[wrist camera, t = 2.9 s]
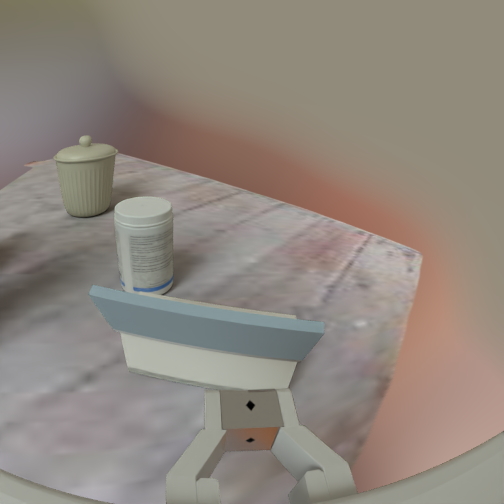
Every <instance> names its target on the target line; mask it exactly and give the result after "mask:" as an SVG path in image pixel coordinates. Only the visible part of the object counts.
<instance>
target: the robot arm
mask: <svg viewBox="0 0 504 504" xmlns="http://www.w3.org/2000/svg"><path fill="white" fill-rule="evenodd" d="M204 425H205V429H201V430H200V432H199V433H198V434H197V436H196V437H195V438H194V440H193V441H192V442H191V444H190V445H189V446H188V448H187V449H186V450H185V452H184V453H183V454H182V456H181V457H180V458H179V460H178V461H177V462H176V463H175V465H174V466H173V467H172V469H171V470H170V471H169V472H168V474H167V475H166V504H221V501H220V490H219V481H217V480H216V479H215V478H209V477H210V476H211V474H212V472H213V471H214V469H215V468H216V466H217V464H218V463H219V461H220V459H221V458H222V456H223V454H224V452H231V451H253V450H271V452H272V453H273V454H274V455H275V456H276V458H277V459H278V460H279V461H280V462H281V463H282V464H283V465H284V467H285V468H286V469H287V470H288V471H289V472H290V473H291V474H292V475H293V477H294V478H295V479H296V480H297V481H298V483H297V485H296V486H295V487H294V488H293V489H292V491H291V492H290V493H289V494H288V496H289V501H290V504H504V431H503V432H501V433H499V434H498V435H496V436H494V437H493V438H491V439H489V440H488V441H486V442H484V443H483V444H480V445H479V446H477V447H475V448H473V449H471V450H469V451H467V452H465V453H463V454H461V455H459V456H458V457H455V458H453V459H451V460H449V461H447V462H445V463H442V464H440V465H438V466H436V467H433V468H431V469H429V470H426V471H424V472H421V473H419V474H416V475H414V476H411V477H408V478H406V479H403V480H400V481H397V482H394V483H391V484H389V485H385V486H382V487H379V488H376V489H372V490H369V491H366V492H362V493H357V490H356V487H355V483H354V480H353V477H352V474H351V471H350V468H349V464H348V463H347V462H346V461H345V460H344V459H342V458H341V457H340V456H339V455H338V454H336V453H335V452H334V451H333V450H332V449H330V448H329V447H328V446H327V445H326V444H325V443H323V442H322V441H321V440H320V439H319V438H318V437H317V436H315V435H314V434H313V433H312V432H311V431H310V430H309V429H308V428H306V427H305V426H304V425H300V424H299V420H298V416H297V412H296V408H295V404H294V400H293V397H292V393H291V390H290V389H289V388H282V389H254V390H211V389H205V398H204ZM0 504H113V503H108V502H103V501H98V500H93V499H89V498H85V497H81V496H77V495H73V494H69V493H66V492H62V491H59V490H56V489H52V488H49V487H46V486H43V485H40V484H37V483H34V482H32V481H29V480H26V479H24V478H21V477H18V476H16V475H13V474H11V473H9V472H6V471H4V470H2V469H0Z"/></svg>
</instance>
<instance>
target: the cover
mask: <svg viewBox="0 0 504 504" xmlns="http://www.w3.org/2000/svg"><path fill="white" fill-rule="evenodd" d="M89 296H90V297H91V299H92V300H93V302H94V303H95V305H96V306H97V308H98V309H99V310H100V312H101V313H102V315H103V316H104V317H105V319H106V320H107V322H108V323H109V324H110V326H111V327H112V328H113V329H114V331H115V332H119V333H123V334H128V335H132V336H136V337H141V338H145V339H150V340H155V341H159V342H164V343H169V344H174V345H179V346H185V347H190V348H196V349H202V350H208V351H214V352H220V353H226V354H233V355H240V356H247V357H255V358H263V359H272V360H281V361H290V362H301V361H302V360H303V359H304V358H305V357H306V355H307V354H308V353H309V352H310V351H311V349H312V348H313V347H314V346H315V344H316V343H317V342H318V341H319V339H320V338H321V337H322V336H323V334H324V322H318V321H309V320H300V319H292V318H283V317H275V316H268V315H260V314H253V313H246V312H239V311H232V310H226V309H219V308H213V307H206V306H200V305H194V304H188V303H182V302H177V301H171V300H166V299H160V298H155V297H149V296H144V295H139V294H134V293H129V292H124V291H119V290H114V289H110V288H105V287H100V286H96V285H92V287H91V290H90V292H89Z"/></svg>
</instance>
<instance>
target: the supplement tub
mask: <svg viewBox="0 0 504 504" xmlns="http://www.w3.org/2000/svg"><path fill="white" fill-rule="evenodd" d="M114 222H115V235H116V246H117V256H118V264H119V273H120V280H121V285H122V287H123V289H124V290H125V291H126V292H129V293H134V294H139V292H140V291H141V292H147V293H152V294H157V295H162V294H164V293H165V292H167V291H168V290H169V289H170V288H171V286H172V284H173V213H172V204H171V203H170V202H169V201H167V200H165V199H162V198H158V197H134V198H129V199H126V200H123V201H121V202H119V203H118V204H117V205H116V206H115V215H114Z"/></svg>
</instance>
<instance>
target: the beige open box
mask: <svg viewBox="0 0 504 504" xmlns="http://www.w3.org/2000/svg"><path fill="white" fill-rule="evenodd" d="M139 295H144V296H149V297H155V298H160V299H166V300H171V301H177V302H182V303H188V304H194V305H200V306H206V307H213V308H219V309H226V310H232V311H239V312H246V313H253V314H260V315H268V316H275V317H283V318H292V319H296V315H288V314H280V313H272V312H264V311H257V310H250V309H243V308H236V307H229V306H223V305H216V304H210V303H204V302H198V301H192V300H186V299H180V298H174V297H168V296H163V295H157V294H152V293H147V292H141V291H140V292H139ZM121 338H122V343H123V348H124V353H125V358H126V362H127V367H128V371H129V372H133V373H137V374H141V375H145V376H150V377H154V378H158V379H163V380H168V381H172V382H177V383H182V384H188V385H193V386H198V387H204V388H210V389H216V390H254V389H282V388H288V386H289V384H290V381H291V378H292V375H293V373H294V370H295V367H296V364H297V362H290V361H281V360H272V359H263V358H255V357H247V356H240V355H233V354H226V353H220V352H214V351H208V350H202V349H196V348H190V347H185V346H179V345H174V344H169V343H164V342H159V341H155V340H150V339H145V338H141V337H136V336H132V335H128V334H123V333H121Z"/></svg>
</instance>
